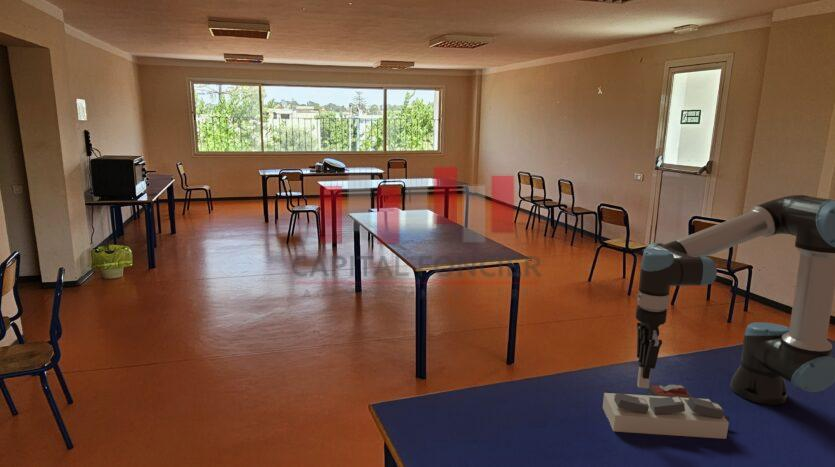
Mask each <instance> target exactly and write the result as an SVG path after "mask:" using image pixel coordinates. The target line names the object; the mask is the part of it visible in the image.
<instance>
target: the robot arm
mask: <svg viewBox="0 0 835 467" xmlns="http://www.w3.org/2000/svg"><path fill="white" fill-rule="evenodd" d="M775 235H791V236H795V240H794V241H795V242H794V247H795V249H796V250H797V251H798V252H799V254H800V256H799V261H798V266H797V267H798V268H797V275H796V283H795V288H794V295H793V296H794V297H793V303H792V309H791V317H790V322H789V327H788V326H785V325H782V324H780V323H778V324H777V323H771V322H762V321H761V322H760V321H759V322H751V323H749V324H747V326H746V328H745V332H744V335H743V343H742V350H741V358H740V364H739V366H738V368H737V370H736V371H735V373H734V374H733V376H732V377H731V379H730V385H729V387H730V389H731V391H732V392H734V393H735V394H736V395H738V396H739V397H741V398H743V399H745V400H748V401H751V402H753V403H758V404H760V405H761V404H762V405H768V406H778V405H783V404H784V403H786V402H787V398H788V391H787V387H786V381H788V382H789V383H791V384H792V385H793V386H794V387H798V388H800V389H802V390H803V391H806V392H808V393H809V392H810V393H817V392H821V391H824V390H826V389H828V388H829V387H830V386H832V385H833V384H834V383H835V357H833V356H832V350H833V345H832V343H831V342H830V341H829V340H828V332H829V327H830V319H831V314H832V306H833V302H834V295H835V199H830V198H824V197H823V198H822V197H815V196H809V195H804V194H793V195H786V196H782V197H779V198H775V199H771V200H768V201H766V202H763V203H760V204H758V205H755V206H752V207H751V208H750V210H749V211H748V212H746V213H744V214H741V215H738V216H736V217H733V218H730V219H728V220H725V221H723V222H721V223H718V224H715V225H712V226H710V227H707V228H704V229H702V230H699V231H697V232H694V233H691V234H689V235H686V236H683V237H680V238H678V239H675V240H673V241H670V242H668V243H665V244H664V243H662V242H661V243H660V242H652V243H649V244H648V245H647V246H645V248H644V250H643V252H642V253H643V254H642V258H641V262H640V272H639V282H638V292H637V293H638V294H636V295H635V297H636V298H637V306H636V310H635V319H636V320H637V321H638V322H636V329H637V330H636V331H637V333H636V334H637V338H636V339H637V342H636V344H637V345H636V358H637V359H638V363H639V364H638V374H637V383H636V386H637V387H638V389H647V388H649V386H650V381H651V374H652V372H651V371H652V370H653V369H655V368H656V364H657V361H658V357H659V352H660V348H661V346H662V345H663V340H662V339H659V335H660V328H659V327H660V326H662V325H664V324H666V322H667V315H668V310H667V309H668V308H669V302H670V300H669V299H670V290H671V287H682V286H683V287H686V286H689V287H690V286H697V287H700V286H706V285H707V286H708V285H710V284H713V283H714V281H716V278H717V275H718V274H717V273H718V268H717V265H716V262H714V260H713V259H712V258H710V257H708V256H711V255H714V254H716V253H719V252H722V251H725V250H727V249H730V248H732V247H735V246H737V245H740V244H743V243H747V242H749V241H751V240H754V239H756V238H759V237H765V238H768V237H769V238H770V237H771V236H772V237H773V236H775ZM785 380H786V381H785Z"/></svg>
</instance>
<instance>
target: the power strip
mask: <svg viewBox="0 0 835 467" xmlns="http://www.w3.org/2000/svg"><path fill="white" fill-rule="evenodd" d="M624 394H625V395H629V396H633V397H638V398H642V399H645V401H646V403H647V404H648V406H649V409H648V411H647V414H643V413H639V412H635V411H631V410H627V409H623V408H618V407H617V405H616V403H615V401H614V398H615V395H616V393H613V392H611V393H610V392H604V393H603V401H602V410H603V412H604V414H605V416H606V419H607V418H608V419H607V421H608V420H609V421H608V423H609V422H610V423H609V425H610V427H611V429H612V431H613V432H617V433H619V432H620V433H630V434H631V433H632V434H647V435H660V436H662V435H664V436H665V435H666V436H675V437H677V436H678V437H679V436H682V437H693V438H694V437H695V438H707V439H708V438H710V439H725V440H726V439H727V435H728V429H729V425H730V424H729V422H730V417H729V416H724V415H723V417H722V419H719V418H715V417H711V416H707V415H703V414H699V413H695V412H693V411H692V410H691V409H690V408H689V406H688V405H687V402H688V400H689V398H682V397H680V399H681V400H682V401H683V403H684V406H685V411H684V412H676V413H667V414H659V415H655V414H654V413H653V411H652V409H651V408H650V403H649V400H650V399H658V398H666V397H665V396H648V394H647V395H645V394H629V393H627V394H626V393H624ZM697 399H699V398H697ZM700 399H701V400H705V401H709V402H712V401H711V400H710V399H709V398H700Z"/></svg>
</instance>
